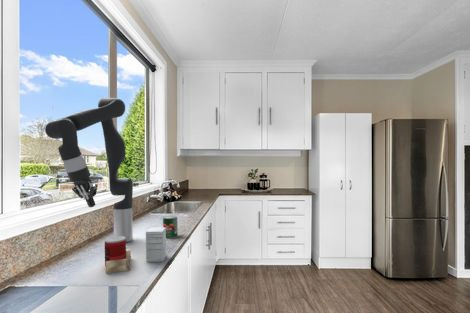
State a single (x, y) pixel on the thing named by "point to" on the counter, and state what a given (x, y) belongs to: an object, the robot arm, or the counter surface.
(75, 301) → the counter surface
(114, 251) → the canned food
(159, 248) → the supplement box
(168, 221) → the canned tomato
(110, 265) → the wooden bracket
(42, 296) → the counter surface
